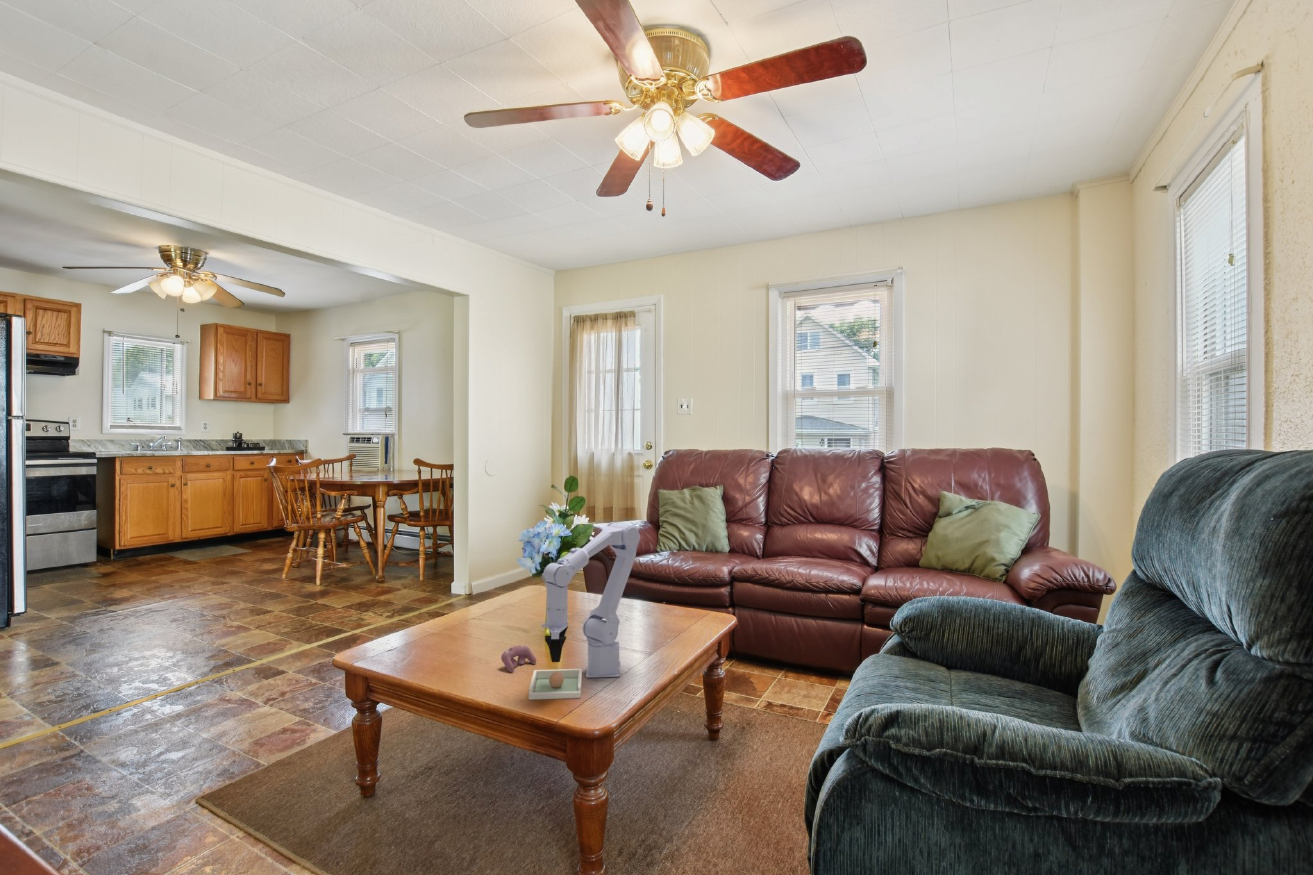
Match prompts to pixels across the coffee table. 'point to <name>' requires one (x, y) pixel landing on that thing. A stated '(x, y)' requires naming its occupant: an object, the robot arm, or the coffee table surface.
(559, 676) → the ball
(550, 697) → the tray
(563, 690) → the mat
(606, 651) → the robot arm
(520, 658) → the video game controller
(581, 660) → the coffee table surface
